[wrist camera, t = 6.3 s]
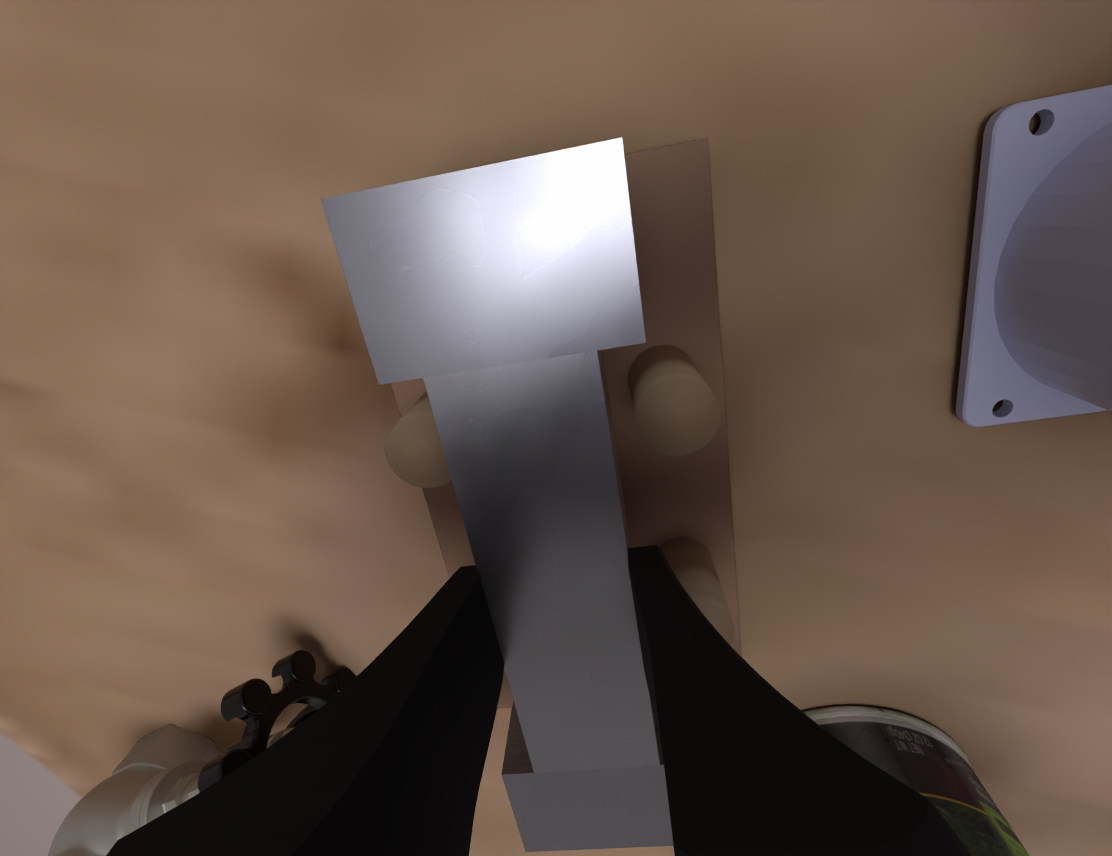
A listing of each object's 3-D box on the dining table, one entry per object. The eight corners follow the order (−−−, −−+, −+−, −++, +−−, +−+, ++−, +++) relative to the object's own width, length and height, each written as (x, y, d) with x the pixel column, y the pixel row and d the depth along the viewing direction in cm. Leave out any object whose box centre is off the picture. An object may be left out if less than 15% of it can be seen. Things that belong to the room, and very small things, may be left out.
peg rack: (358, 212, 15) (273, 213, 11) (698, 143, 13) (740, 117, 10) (494, 682, 21) (471, 791, 17) (735, 662, 20) (770, 775, 16)
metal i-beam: (404, 200, 12) (321, 198, 8) (612, 158, 11) (621, 137, 8) (539, 717, 18) (525, 851, 14) (680, 707, 17) (704, 843, 14)
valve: (207, 811, 25) (406, 724, 22) (83, 1004, 19) (335, 921, 16) (97, 720, 23) (297, 612, 20) (-80, 903, 17) (169, 787, 14)
